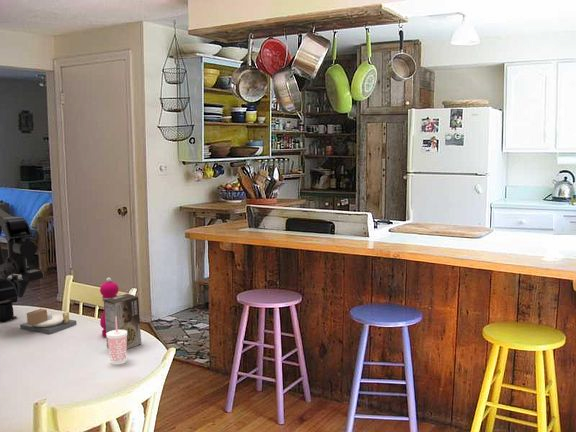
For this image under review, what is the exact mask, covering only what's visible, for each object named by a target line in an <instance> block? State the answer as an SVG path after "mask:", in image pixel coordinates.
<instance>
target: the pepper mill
mask: <svg viewBox="0 0 576 432" xmlns="http://www.w3.org/2000/svg"><path fill="white" fill-rule="evenodd" d="M105 280H106V281H105V282H104V283H102V284H101V286H100V287H99V292H100V294H101V296H102V297H101V300H102V302H103V303H104V300H105V299H109V298H113V297H116V296H118V295H117V294H118V292H119V289H120V288H119V286H118V284H117V283H116V282H113V281H112V278H111V277H107V278H106V279H105ZM99 325H100V327H101V328H102V330H101V334H102V336H103V337H104V338H107V337H106V322H105V307H104V306H103V312H102V314H101V317H100V323H99Z"/></svg>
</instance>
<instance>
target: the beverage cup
mask: <svg viewBox="0 0 576 432" xmlns="http://www.w3.org/2000/svg"><path fill="white" fill-rule="evenodd" d="M115 324H116V330H112V331H109V332H107V333H106V335H107V336H106V337H105V338H106V339H107V338H108V346H109V348H108V353H109V361H110V364H111V365H122V364H124V363H126V362H127V350H128V349H127V331H126V330H117V316H115Z"/></svg>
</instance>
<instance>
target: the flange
mask: <svg viewBox="0 0 576 432" xmlns="http://www.w3.org/2000/svg"><path fill="white" fill-rule="evenodd" d="M26 322H27V324H29V325H33V326H36V327H48V326H54V325H58V324H61V323H63V314H58V313H56V314H55V313H54V314H53V312H52V311H48V310H47V309H45V308H39V309H36V310H31V311H29V312H27V313H26Z"/></svg>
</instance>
